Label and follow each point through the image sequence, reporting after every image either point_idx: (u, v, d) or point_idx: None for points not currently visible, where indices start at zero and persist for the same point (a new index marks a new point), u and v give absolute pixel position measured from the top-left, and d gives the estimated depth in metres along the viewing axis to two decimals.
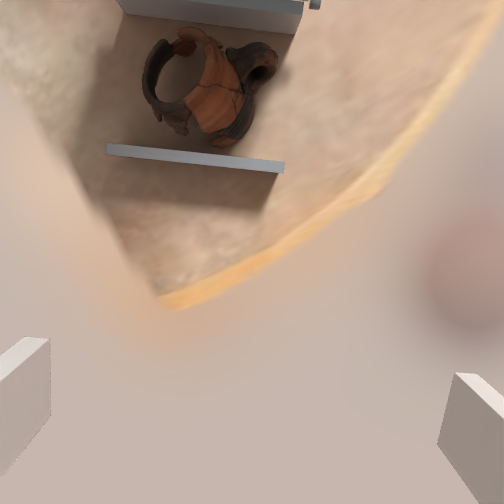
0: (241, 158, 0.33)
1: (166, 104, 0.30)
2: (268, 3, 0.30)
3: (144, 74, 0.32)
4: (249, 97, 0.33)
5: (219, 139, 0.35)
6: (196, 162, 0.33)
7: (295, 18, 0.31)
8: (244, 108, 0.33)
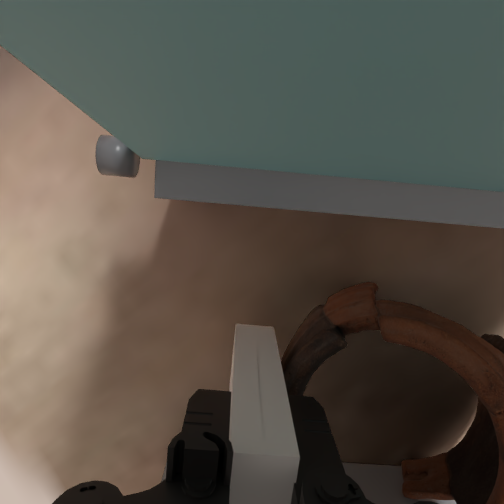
0: None
1: None
2: None
3: None
4: None
5: (430, 496, 0.15)
6: None
7: None
8: None
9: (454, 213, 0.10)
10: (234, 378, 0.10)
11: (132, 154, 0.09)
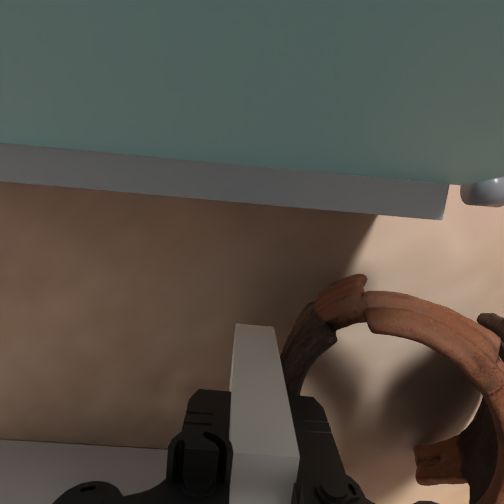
0: None
1: None
2: (342, 191, 0.10)
3: None
4: None
5: (443, 481, 0.15)
6: None
7: None
8: None
9: (166, 185, 0.10)
10: (234, 378, 0.10)
11: None
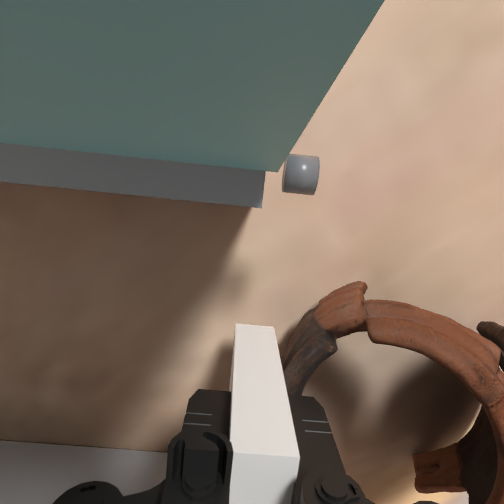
0: None
1: None
2: (155, 176, 0.10)
3: None
4: None
5: (442, 489, 0.15)
6: None
7: None
8: None
9: None
10: (234, 378, 0.10)
11: None
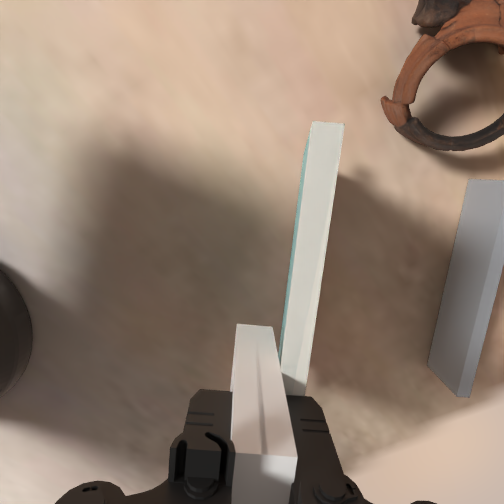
0: (496, 239, 0.25)
1: None
2: None
3: (457, 147, 0.24)
4: None
5: None
6: (493, 296, 0.26)
7: None
8: None
9: None
10: (235, 378, 0.10)
11: None
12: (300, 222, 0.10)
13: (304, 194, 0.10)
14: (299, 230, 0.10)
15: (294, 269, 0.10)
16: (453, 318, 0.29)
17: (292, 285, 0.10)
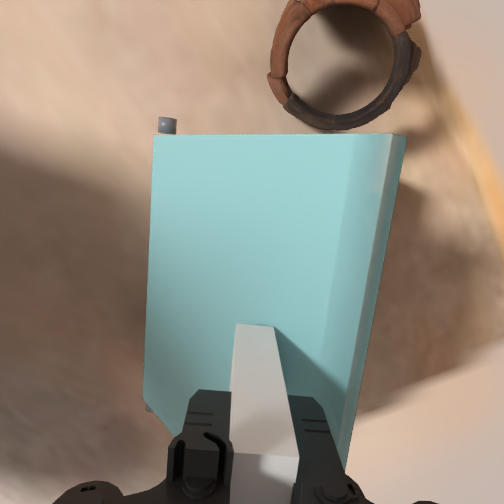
0: None
1: (398, 70, 0.19)
2: None
3: (339, 125, 0.22)
4: None
5: None
6: None
7: None
8: None
9: None
10: (234, 378, 0.10)
11: None
12: (375, 226, 0.11)
13: (382, 201, 0.10)
14: (373, 234, 0.11)
15: (367, 270, 0.11)
16: None
17: (365, 285, 0.11)
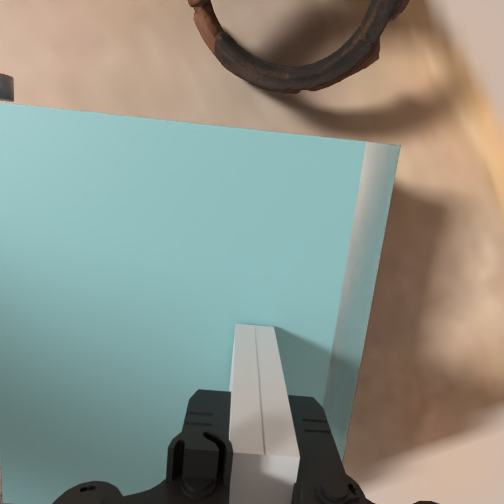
0: None
1: None
2: None
3: (297, 82, 0.14)
4: None
5: None
6: None
7: None
8: None
9: None
10: (234, 378, 0.10)
11: None
12: (385, 219, 0.13)
13: None
14: (384, 225, 0.13)
15: (379, 254, 0.13)
16: None
17: (377, 267, 0.14)
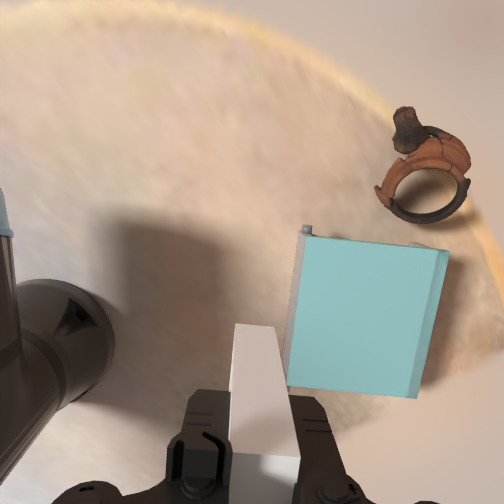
0: None
1: (460, 197, 0.35)
2: None
3: (422, 221, 0.38)
4: (429, 128, 0.37)
5: None
6: None
7: None
8: (441, 131, 0.36)
9: None
10: (234, 378, 0.10)
11: None
12: (443, 276, 0.37)
13: None
14: (443, 278, 0.37)
15: (441, 288, 0.38)
16: None
17: (440, 292, 0.38)
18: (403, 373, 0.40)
